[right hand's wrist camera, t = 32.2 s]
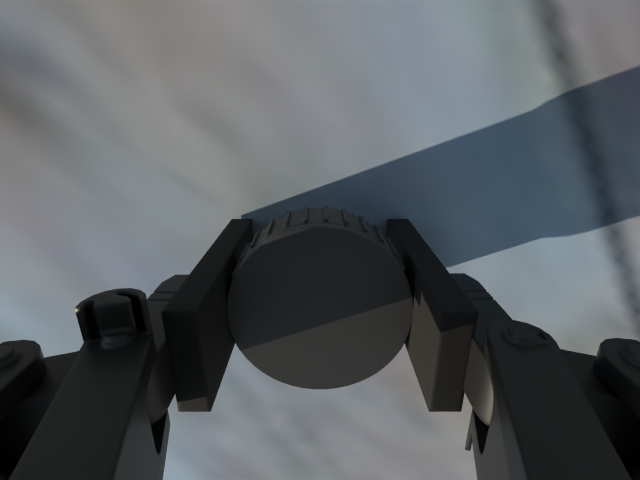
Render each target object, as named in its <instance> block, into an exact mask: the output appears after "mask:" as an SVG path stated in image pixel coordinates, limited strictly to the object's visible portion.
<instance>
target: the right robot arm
mask: <svg viewBox="0 0 640 480" xmlns="http://www.w3.org/2000/svg"><path fill="white" fill-rule="evenodd" d="M387 237H388V238H389V239H390V241H391V243H392V245H393V247H394V249H395V251H397V252H398V254H399V256H400V258H401V260H402V262H403V264H404V266H405V268H406V270H407V271H406V272H405V274H406V276H407V278H408V280H409V282H410V284H411V290H412V295H413V315H412V324H411V329H410V332H409V334H408V337H407V339H406V341H405V345H406V348H407V351H408V354H409V356H410V359H411V362H412V365H413V368H414V370H415V373H416V376H417V379H418V382H419V384H420V387H421V390H422V393H423V396H424V398H425V401H426V404H427V407H428V410H429V412H436V411H461V409H462V403H463V398H464V392H465V393H466V395H467V397H468V399H469V401H470V403H471V405H472V407H473V409H472V414H471V419H470V424H469V430H468V435H467V440H466V447H465V450H469V451H470V450H471V444H472V443H473V450H474V457H475V465H476V472H477V479H478V480H640V342H638V341H637V340H632V339H621V338H613V339H606V340H604V341H603V342H602V343H600V346H599V349H598V352H597V356H593V355H588V354H582V353H577V352H572V351H566V350H562V349H560V348H559V346H558V345H557V343H556V341H555V340H554V339H553V338H552V337H551V336H550V335H549V334H548V333H546V332H545V331H543V330H541V329H540V328H538V327H535V326H533V325H530V324H528V323H524V322H519V321H515V320H512V319H511V318H510V317H509V315H508V314H507V313H506V312H505V311H504V310H503V309H502V308H501V306H500V305H499V304H498V303H497V302H496V301H495V300H493V297H492V296H491V295H490V294H489V293H488V292H486V290H485V289H484V287H483V286H482V285H481V284H480V283H479V282H478V281H477V280H475V279H473V278H471V277H470V276H468V275H466V274H449V272H448V271H447V270H446V268H445V267H444V266H443V265H442V263H441V262H440V261H439V259H438V258H437V257H436V255H435V254H434V253H433V251H432V250H431V249H430V248H429V246H428V245H427V244H426V242H425V241H424V240H423V238H422V237H421V236H420V234H419V233H418V232H417V231H416V229H415V228H414V227H413V225H412V224H411V223H410V221H409V220H408V219H388V224H387ZM252 241H253V227H252V219H232V220H231V221H230V222H229V224H228V225H227V226H226V228H225V229H224V230H223V232H222V233H221V234H220V236H219V237H218V238H217V239H216V241H215V242H214V243H213V245H212V246H211V247H210V249H209V250H208V251H207V252H206V254H205V255H204V256H203V258H202V259H201V260H200V262H199V263H198V264H197V266H196V267H195V268H194V269H193V271H192V272H191V273H190V275H174V276H173V277H171V278H169V279H167V280H166V281H164V282H162V283H161V284H160V285H159V286H158V288H157V289H156V290H155V291H154V293H152V294H151V295H150V297H149V298H148V299H146V294H145V293H144V292H142V291H141V290H137V289H132V288H124V289H114V290H109V291H105V292H102V293H99V294H96V295H93V296H91V297H89V298H87V299H85V300H83V301H82V302H80V303H79V304H78V305H77V306H76V307H75V311H76V315H77V319H78V322H79V326H80V330H81V333H82V337H83V341H84V343H83V345H82V347H81V349H80V351H77V352H72V353H67V354H62V355H56V356H51V357H46V358H44V357H43V354H42V351H41V348H40V345H39V344H37V343H36V342H35V341H29V340H18V341H7V342H3V343H2V344H0V480H163V473H164V466H165V458H166V451H167V444H168V437H169V430H170V420H169V414H168V407H169V405H170V403H171V401H172V399H173V397H174V395H175V394H176V399H177V405H178V411H179V412H211V409H212V406H213V403H214V401H215V398H216V395H217V392H218V389H219V387H220V384H221V381H222V378H223V375H224V373H225V370H226V367H227V364H228V361H229V359H230V356H231V353H232V350H233V347H234V345H235V341H234V339H233V336H232V334H231V332H230V328H229V324H228V317H227V296H228V291H229V287H230V284H231V281H232V278H231V275H232V273H233V271H234V269H235V267H236V265H237V263H238V260H239V259H240V257H241V255H242V253H243V251H244V249H245V247H246V245H247V243H250V244H251V242H252Z"/></svg>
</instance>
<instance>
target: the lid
mask: <svg viewBox="0 0 640 480" xmlns="http://www.w3.org/2000/svg"><path fill="white" fill-rule="evenodd" d="M406 271H407V270H406V268H405V266H404V264H403V262H402V260H401V258H400V256H399V254H398V252H397V251H395V249H394V247H393V245H392V243H391V241H390V239H389V238H388V237H387V238H385V237H384V236H383V235H382V234H381V232H380V230H379V228H378V226H376V225H375V226H372V225H371V224H370V223H368V222H367V221H365V220H364V218H363V216H361V215H360V216H359V217H357V216H355V215H352V214H350V213H347V212H346V210H345V209H342V211H339V210H334V209H328V208H327V206H324V208H314V209H309V207H305V210H300V211H297V212H293V213H291V212H290V211H289V212H287V214H286V215H285V216H283V217H281V218H279V219H277V220H274V219H272V220H271V221H270V223H269V225H268V226H267V227H265V228H264V229H263V230H262V231H260V230H258V231H257V233H256V235H255V237H254V239H253V241H252V242H251V244H250V243H247V245H246V247H245V249H244V251H243V253H242V255H241V257H240V259H239V260H238V263H237V265H236V267H235V269H234V271H233V273H232V275H231V278H232V281H231V284H230V287H229V291H228V296H227V317H228V324H229V328H230V332H231V334H232V336H233V339H234V341H235V343H236V344H237V346H238V348H239V349H240V351H241V352H242V353H243V355H244V356H245V357H246V358H247V359H248V360H249V361H250V362H251V363H252V364H253V365H254V366H255V367H256V368H258V369H259V370H260V371H262V372H263V373H265V374H266V375H268V376H270V377H272V378H274V379H276V380H278V381H280V382H283V383H286V384H289V385H292V386H296V387H301V388H308V389H332V388H339V387H344V386H348V385H351V384H354V383H357V382H360V381H362V380H364V379H366V378H369V377H370V376H372V375H374V374H375V373H377V372H378V371H380V370H381V369H382V368H384V367H385V366H386V365H387V364H388V363H389V362H390V361H391V360H392V359H393V358H394V357H395V356H396V355H397V353H398V352H399V351H400V350H401V348H402V346H403V344H404V343H405V341H406V339H407V337H408V334H409V332H410V329H411V324H412V315H413V295H412V290H411V284H410V282H409V280H408V278H407V276H406V274H405V272H406Z"/></svg>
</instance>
